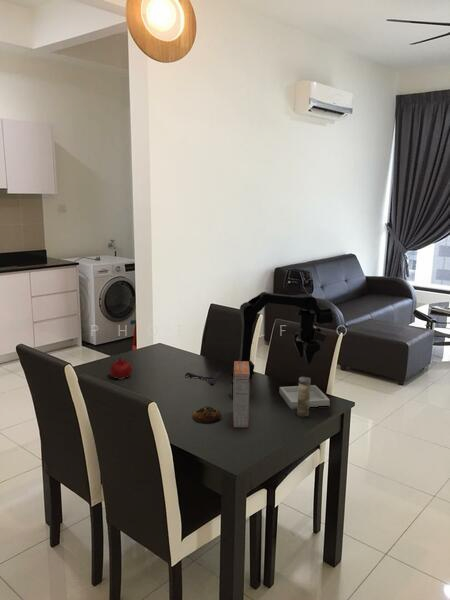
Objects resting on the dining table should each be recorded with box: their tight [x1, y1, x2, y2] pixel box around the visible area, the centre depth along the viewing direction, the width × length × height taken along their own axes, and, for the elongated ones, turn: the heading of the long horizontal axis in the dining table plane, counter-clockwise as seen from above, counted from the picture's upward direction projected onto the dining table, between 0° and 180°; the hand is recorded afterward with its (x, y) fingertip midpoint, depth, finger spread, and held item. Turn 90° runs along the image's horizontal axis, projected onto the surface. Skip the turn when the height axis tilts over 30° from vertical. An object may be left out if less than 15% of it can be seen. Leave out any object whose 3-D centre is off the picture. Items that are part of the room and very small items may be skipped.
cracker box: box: [232, 360, 251, 429], centre depth 187 cm, size 14×6×21 cm, turn 178°
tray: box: [278, 384, 331, 410], centre depth 209 cm, size 16×16×3 cm
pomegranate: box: [109, 357, 133, 378], centre depth 230 cm, size 10×10×9 cm
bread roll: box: [192, 406, 222, 424], centre depth 191 cm, size 11×11×5 cm
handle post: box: [296, 376, 311, 418], centre depth 194 cm, size 4×4×14 cm
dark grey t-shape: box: [184, 371, 221, 386], centre depth 231 cm, size 14×15×3 cm
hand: (304, 360), depth 213 cm, fingers open, 9 cm apart
